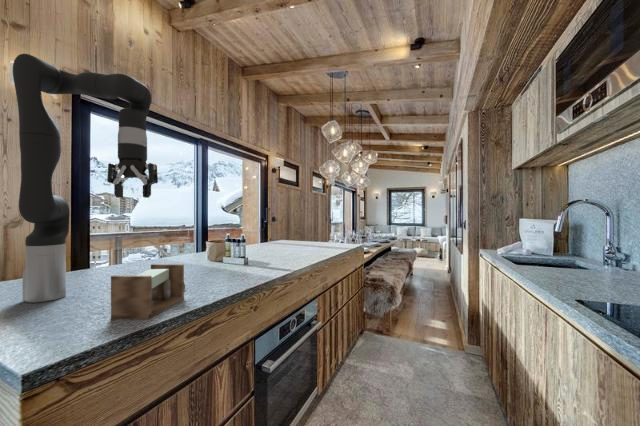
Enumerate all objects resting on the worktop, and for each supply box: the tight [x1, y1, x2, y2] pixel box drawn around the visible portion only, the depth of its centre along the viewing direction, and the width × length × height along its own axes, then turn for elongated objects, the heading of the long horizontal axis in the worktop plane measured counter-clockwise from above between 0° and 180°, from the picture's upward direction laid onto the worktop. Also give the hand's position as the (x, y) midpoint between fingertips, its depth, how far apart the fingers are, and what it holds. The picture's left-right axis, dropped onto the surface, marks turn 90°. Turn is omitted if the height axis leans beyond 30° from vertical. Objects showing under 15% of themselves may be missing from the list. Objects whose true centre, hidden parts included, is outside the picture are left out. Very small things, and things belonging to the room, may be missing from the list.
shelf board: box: [135, 268, 169, 288], centre depth 81 cm, size 6×12×3 cm, turn 9°
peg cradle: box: [110, 263, 185, 320], centre depth 81 cm, size 10×17×11 cm, turn 178°
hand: (132, 197), depth 86 cm, fingers open, 8 cm apart
